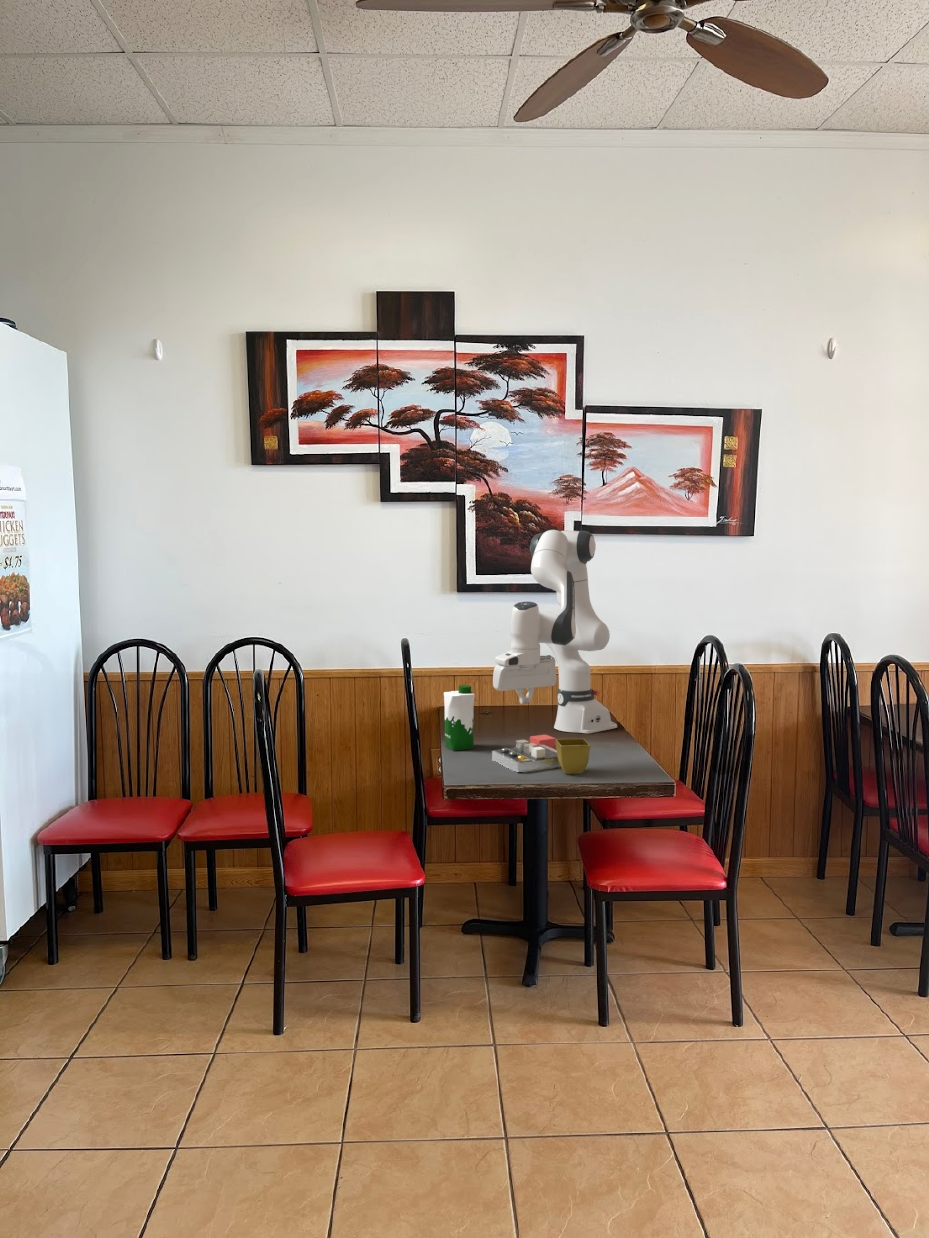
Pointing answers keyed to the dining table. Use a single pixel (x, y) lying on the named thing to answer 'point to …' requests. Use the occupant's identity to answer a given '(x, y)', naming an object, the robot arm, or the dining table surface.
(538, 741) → the cap
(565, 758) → the flower pot
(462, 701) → the milk carton
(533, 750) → the breaker toggle
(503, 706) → the dining table surface
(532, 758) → the breaker panel
